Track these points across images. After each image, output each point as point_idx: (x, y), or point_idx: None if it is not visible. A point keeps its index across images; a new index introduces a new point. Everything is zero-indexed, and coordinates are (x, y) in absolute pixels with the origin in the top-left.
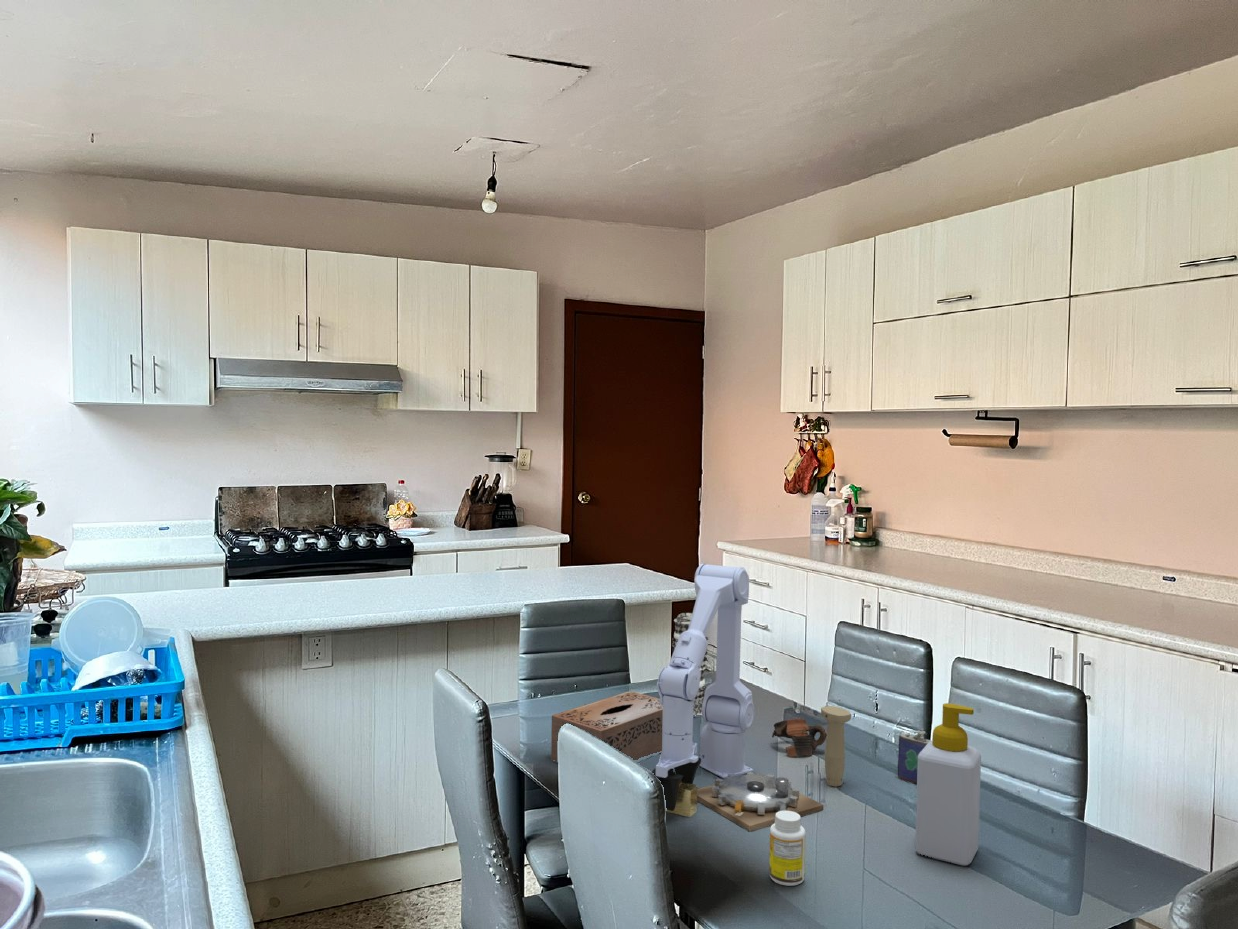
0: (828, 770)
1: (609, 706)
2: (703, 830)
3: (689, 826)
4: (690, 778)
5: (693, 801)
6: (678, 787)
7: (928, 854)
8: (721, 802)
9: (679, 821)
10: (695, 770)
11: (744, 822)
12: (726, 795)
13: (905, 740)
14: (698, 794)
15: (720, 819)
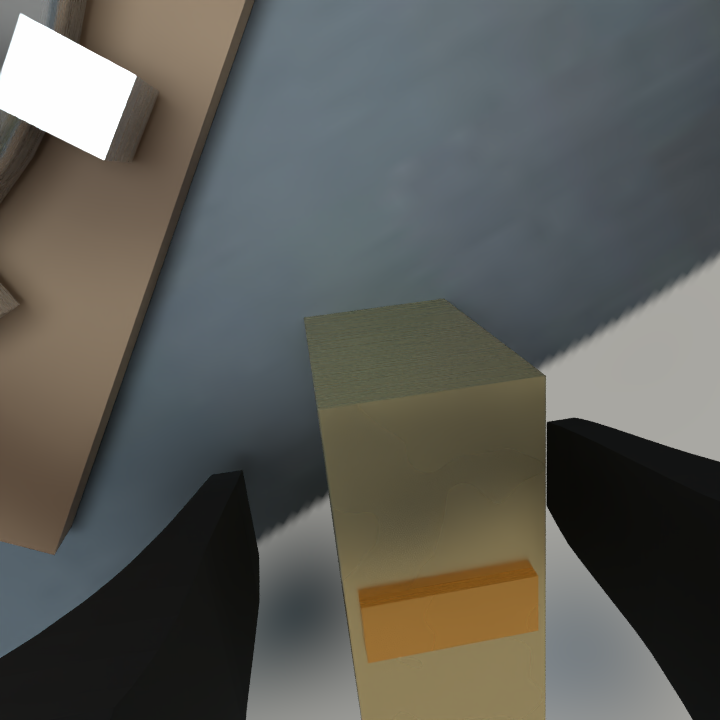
0: None
1: None
2: (624, 62)
3: (606, 211)
4: (205, 586)
5: (404, 338)
6: (717, 500)
7: None
8: (149, 92)
9: (560, 327)
10: (107, 639)
11: None
12: (27, 47)
13: None
14: (59, 453)
15: (324, 32)
